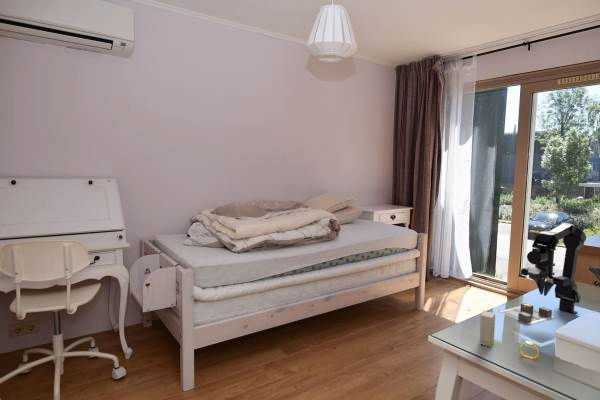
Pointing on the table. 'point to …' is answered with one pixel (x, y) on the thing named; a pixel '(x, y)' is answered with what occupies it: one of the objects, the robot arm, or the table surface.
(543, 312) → the panel
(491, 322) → the skincare box
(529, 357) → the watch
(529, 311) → the block
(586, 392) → the table surface
